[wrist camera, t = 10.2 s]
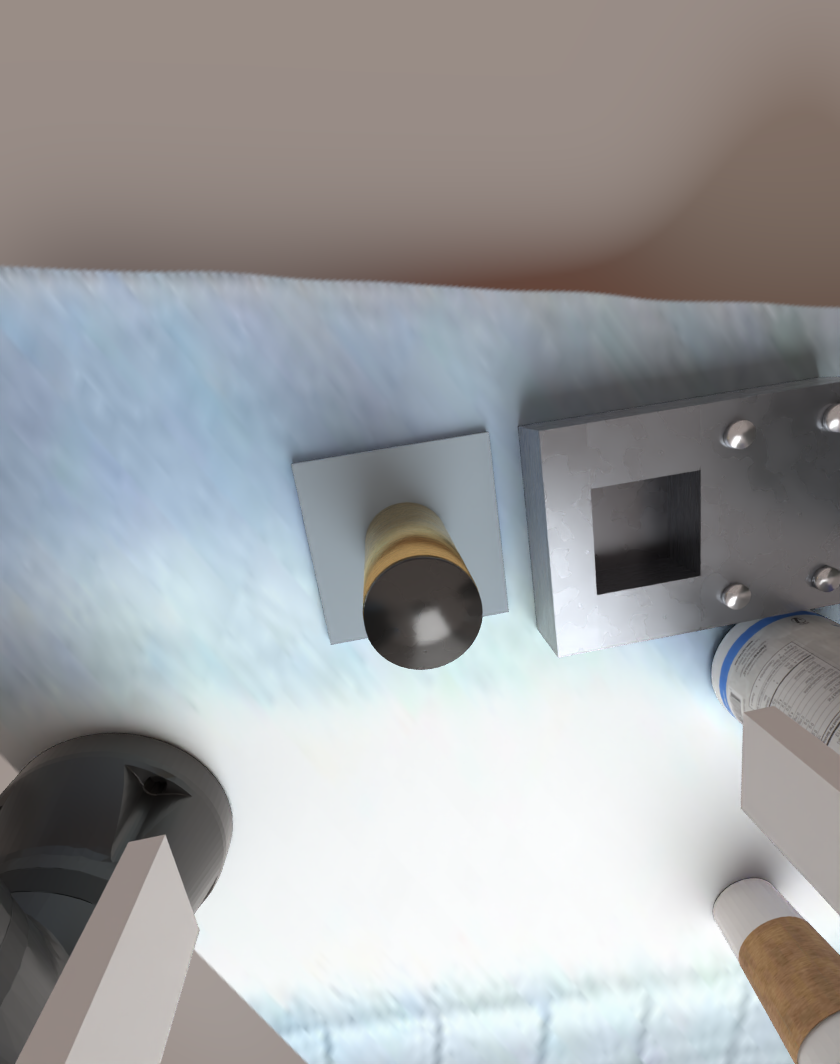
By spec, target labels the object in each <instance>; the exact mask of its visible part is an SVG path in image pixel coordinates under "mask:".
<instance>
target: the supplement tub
mask: <svg viewBox="0 0 840 1064" xmlns="http://www.w3.org/2000/svg"><path fill="white" fill-rule="evenodd" d="M711 678H712V685H713V689H714V692H715V694H716V696H717V698H718V700H719V702H720V703H721V704H722V706H723V707H724V708H725V709H726V710H727V711H728V712H729V713H730V714H732V715H733V716H734V717H735V718H736V719H737V720H738V721H739V722H740V723H741V724H742V725H743V712H747V711H752V710H757V709H761V708H766V707H771V706H775V707H777V708H778V709H779V710H781V711H782V712H783V713H785V714H786V715H787V716H789V717H790V718H791V719H793V720H794V721H795V722H797V723H798V724H799V725H801V726H802V727H803V728H805V729H806V730H807V731H809V732H810V733H811V734H813V735H814V736H815V737H817V738H818V739H819V740H821V741H822V742H823V743H825V744H826V745H827V746H829V747H830V748H831V749H833V750H834V751H835V752H837V753H838V754H839V755H840V624H838V623H836V622H834V621H832V620H830V619H828V618H826V617H824V616H822V615H819V614H817V613H815V612H813V611H811V610H803V611H798V612H793V613H788V614H783V615H777V616H772V617H767V618H762V619H757V620H751V621H746V622H741V623H737V624H736V625H735V626H734V627H733V628H732V629H731V630H730V631H729V632H728V633H727V635H726V636H725V637H724V639H723V640H722V641H721V643H720V645H719V647H718V649H717V651H716V653H715V656H714V659H713V663H712V672H711Z"/></svg>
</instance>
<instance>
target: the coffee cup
mask: <svg viewBox="0 0 840 1064" xmlns="http://www.w3.org/2000/svg"><path fill="white" fill-rule="evenodd" d="M713 916H714V920H715V922H716V923H717V925H718V927H719V929H720V930H721V932H722V934H723V936H724V937H725V939H726V941H727V942H728V944H729V946H730V948H731V949H732V951H733V953H734V954H735V956H736V958H737V960H738V961H739V963H740V966H741V968H742V969H743V971H744V973H745V975H746V977H747V978H748V980H749V982H750V984H751V986H752V987H753V989H754V991H755V993H756V995H757V996H758V998H759V1000H760V1002H761V1004H762V1005H763V1007H764V1009H765V1011H766V1013H767V1014H768V1016H769V1018H770V1020H771V1021H772V1023H773V1025H774V1027H775V1029H776V1030H777V1032H778V1034H779V1036H780V1038H781V1039H782V1041H783V1043H784V1045H785V1047H786V1048H787V1050H788V1052H789V1054H790V1056H791V1057H792V1059H793V1061H794V1063H795V1064H840V955H839V954H838V953H837V952H836V951H835V950H834V949H833V948H832V947H831V946H830V945H829V944H828V943H827V941H826V940H825V939H824V938H823V937H822V936H821V935H820V934H819V933H818V932H817V931H816V930H815V929H814V928H813V927H812V926H811V925H810V924H809V923H808V922H807V921H806V920H805V919H804V918H803V917H802V916H801V915H800V914H799V913H798V912H797V911H796V910H795V909H794V908H793V907H792V905H791V904H790V903H789V902H788V901H787V900H786V899H785V898H784V897H783V896H782V895H781V894H780V893H779V892H778V890H777V889H776V888H775V887H774V886H773V885H772V884H771V883H769V882H768V881H766V880H763V879H759V878H748V879H744V880H740V881H738V882H735V883H734V884H732V885H730V886H729V887H727V888H726V889H725V890H724V891H723V892H722V893H721V894H720V895H719V897H718V898H717V900H716V902H715V904H714V908H713Z"/></svg>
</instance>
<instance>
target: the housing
mask: <svg viewBox="0 0 840 1064" xmlns="http://www.w3.org/2000/svg"><path fill="white" fill-rule="evenodd" d="M518 432H519V442H520V453H521V463H522V474H523V484H524V495H525V505H526V515H527V526H528V536H529V547H530V557H531V568H532V578H533V589H534V599H535V610H536V620H537V629H538V631H539V632H540V633H541V635H542V636H543V638H544V639H545V640H546V642H547V643H548V644H549V646H550V647H551V649H552V650H553V651H554V653H555V654H556V655H557V657H558V658H559V657H564V656H570V655H575V654H580V653H585V652H590V651H596V650H601V649H606V648H611V647H616V646H622V645H627V644H632V643H637V642H642V641H648V640H653V639H658V638H663V637H668V636H673V635H679V634H684V633H689V632H694V631H699V630H705V629H710V628H715V627H720V626H725V625H731V624H736V623H741V622H746V621H751V620H757V619H762V618H767V617H772V616H777V615H783V614H788V613H793V612H798V611H803V610H809V609H814V608H819V607H824V606H829V605H835V604H840V377H818V378H812V379H805V380H799V381H793V382H787V383H781V384H775V385H769V386H763V387H757V388H750V389H744V390H738V391H732V392H726V393H720V394H714V395H708V396H701V397H695V398H689V399H683V400H677V401H671V402H665V403H659V404H652V405H646V406H640V407H634V408H628V409H622V410H616V411H610V412H603V413H597V414H591V415H585V416H579V417H573V418H567V419H561V420H554V421H548V422H542V423H536V424H530V425H524V426H518Z"/></svg>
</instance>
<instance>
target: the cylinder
mask: <svg viewBox="0 0 840 1064" xmlns="http://www.w3.org/2000/svg"><path fill="white" fill-rule="evenodd" d="M482 616H483V609H482V602H481V598H480V594H479V591H478V588H477V586H476V584H475V582H474V580H473V578H472V576H471V574H470V572H469V571H468V569H467V567H466V565H465V563H464V561H463V559H462V558H461V556H460V554H459V552H458V550H457V548H456V546H455V545H454V543H453V541H452V539H451V537H450V535H449V533H448V532H447V530H446V528H445V526H444V524H443V522H442V521H441V519H440V518H439V517H438V516H437V514H436V513H434V512H433V511H432V510H431V509H429V508H427V507H425V506H423V505H420V504H417V503H411V502H404V503H397V504H394V505H391V506H389V507H387V508H385V509H383V510H382V511H381V512H379V513H378V514H377V515H376V516H375V518H374V519H373V520H372V522H371V523H370V525H369V527H368V530H367V533H366V538H365V562H364V589H363V620H364V626H365V630H366V634H367V636H368V639H369V640H370V642H371V644H372V646H373V647H374V648H375V649H376V651H377V652H378V653H379V654H380V655H381V656H383V657H384V658H385V659H387V660H388V661H390V662H392V663H394V664H396V665H398V666H401V667H404V668H408V669H416V670H425V669H432V668H437V667H440V666H443V665H446V664H448V663H450V662H452V661H454V660H455V659H457V658H458V657H460V656H461V655H462V654H463V653H464V652H465V651H466V650H467V649H468V648H469V647H470V646H471V645H472V643H473V642H474V640H475V638H476V637H477V635H478V632H479V630H480V627H481V623H482Z"/></svg>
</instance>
